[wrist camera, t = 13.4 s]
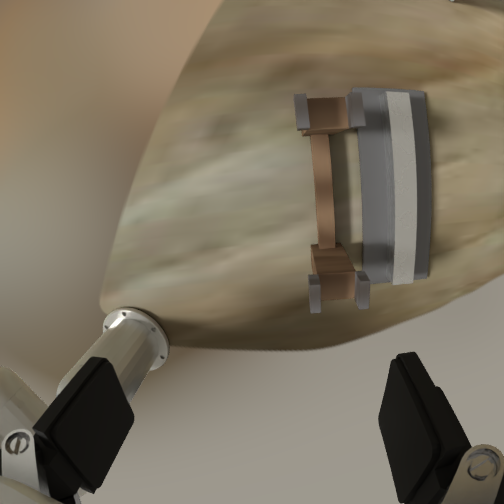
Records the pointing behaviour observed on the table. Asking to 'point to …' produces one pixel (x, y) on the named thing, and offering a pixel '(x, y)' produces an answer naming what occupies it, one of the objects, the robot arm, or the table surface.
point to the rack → (330, 199)
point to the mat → (377, 184)
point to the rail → (400, 186)
